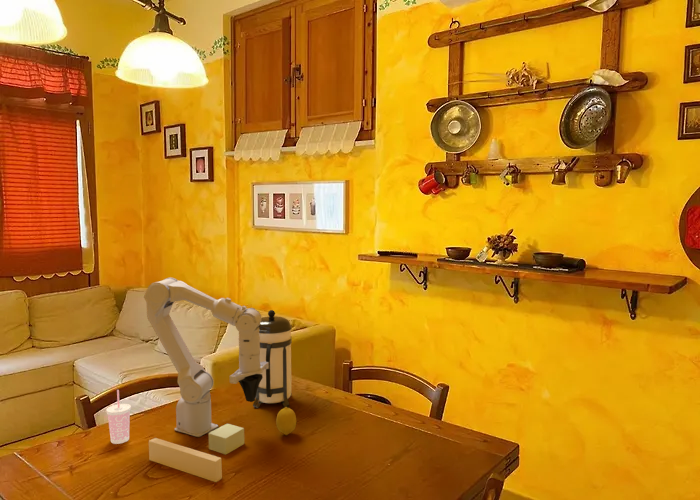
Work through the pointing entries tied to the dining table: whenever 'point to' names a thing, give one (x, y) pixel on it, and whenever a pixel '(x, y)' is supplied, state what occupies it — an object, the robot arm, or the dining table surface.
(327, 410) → the dining table surface
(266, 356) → the coffee press
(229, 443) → the block
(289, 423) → the lemon
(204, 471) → the board
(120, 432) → the beverage cup
